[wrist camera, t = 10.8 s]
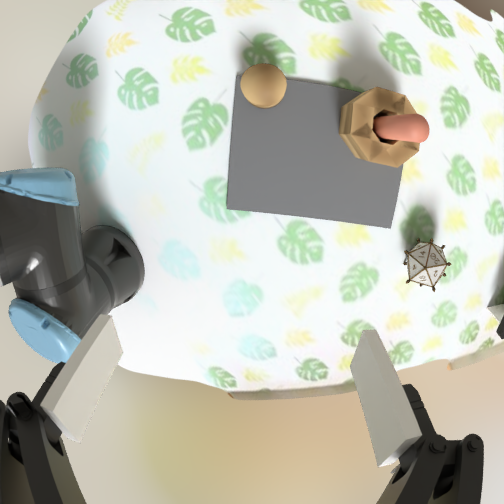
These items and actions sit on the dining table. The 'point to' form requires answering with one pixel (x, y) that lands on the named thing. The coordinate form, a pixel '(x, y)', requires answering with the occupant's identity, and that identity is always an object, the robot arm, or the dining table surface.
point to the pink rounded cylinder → (401, 127)
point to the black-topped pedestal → (498, 317)
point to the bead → (361, 123)
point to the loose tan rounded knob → (263, 85)
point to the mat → (305, 160)
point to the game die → (426, 263)
